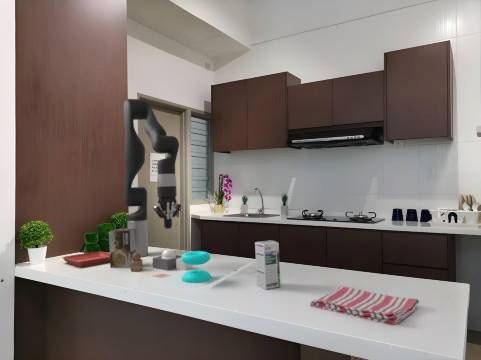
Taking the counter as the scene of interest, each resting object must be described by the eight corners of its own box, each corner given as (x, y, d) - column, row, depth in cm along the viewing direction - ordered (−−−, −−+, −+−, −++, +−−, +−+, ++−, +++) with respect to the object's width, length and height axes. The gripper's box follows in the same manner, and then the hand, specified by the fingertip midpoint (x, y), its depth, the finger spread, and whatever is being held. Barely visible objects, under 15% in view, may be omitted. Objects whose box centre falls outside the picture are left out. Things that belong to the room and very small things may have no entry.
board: (121, 275, 141) (120, 261, 141) (166, 264, 158) (166, 252, 158) (154, 282, 128) (153, 268, 128) (199, 269, 145) (199, 257, 145)
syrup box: (265, 289, 116) (264, 243, 116) (256, 285, 121) (254, 241, 121) (280, 287, 118) (279, 241, 118) (270, 282, 124) (269, 239, 124)
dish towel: (397, 329, 84) (396, 313, 84) (308, 308, 99) (308, 295, 99) (420, 308, 96) (420, 295, 96) (338, 293, 112) (338, 281, 112)
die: (176, 269, 143) (176, 258, 143) (182, 267, 146) (181, 256, 146) (185, 270, 141) (184, 259, 141) (190, 268, 145) (190, 257, 145)
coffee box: (137, 266, 155) (136, 228, 155) (131, 270, 148) (130, 230, 149) (116, 266, 156) (115, 228, 156) (109, 270, 149) (108, 230, 149)
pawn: (128, 270, 143) (128, 253, 143) (138, 268, 146) (137, 251, 146) (135, 272, 140) (134, 254, 140) (144, 270, 143) (144, 252, 143)
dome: (158, 264, 147) (158, 249, 147) (169, 261, 152) (169, 247, 152) (168, 266, 144) (167, 250, 144) (178, 263, 148) (178, 248, 148)
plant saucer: (100, 257, 180) (100, 250, 180) (118, 262, 167) (118, 254, 167) (61, 264, 167) (61, 256, 167) (78, 269, 154) (77, 261, 154)
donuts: (209, 249, 134) (211, 254, 124) (209, 277, 133) (212, 284, 124) (181, 251, 132) (181, 256, 122) (182, 279, 132) (182, 286, 122)
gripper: (173, 185, 155) (174, 226, 155) (147, 185, 145) (148, 229, 145) (185, 184, 151) (186, 227, 151) (159, 185, 140) (160, 231, 140)
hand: (168, 228), depth 148 cm, fingers closed
